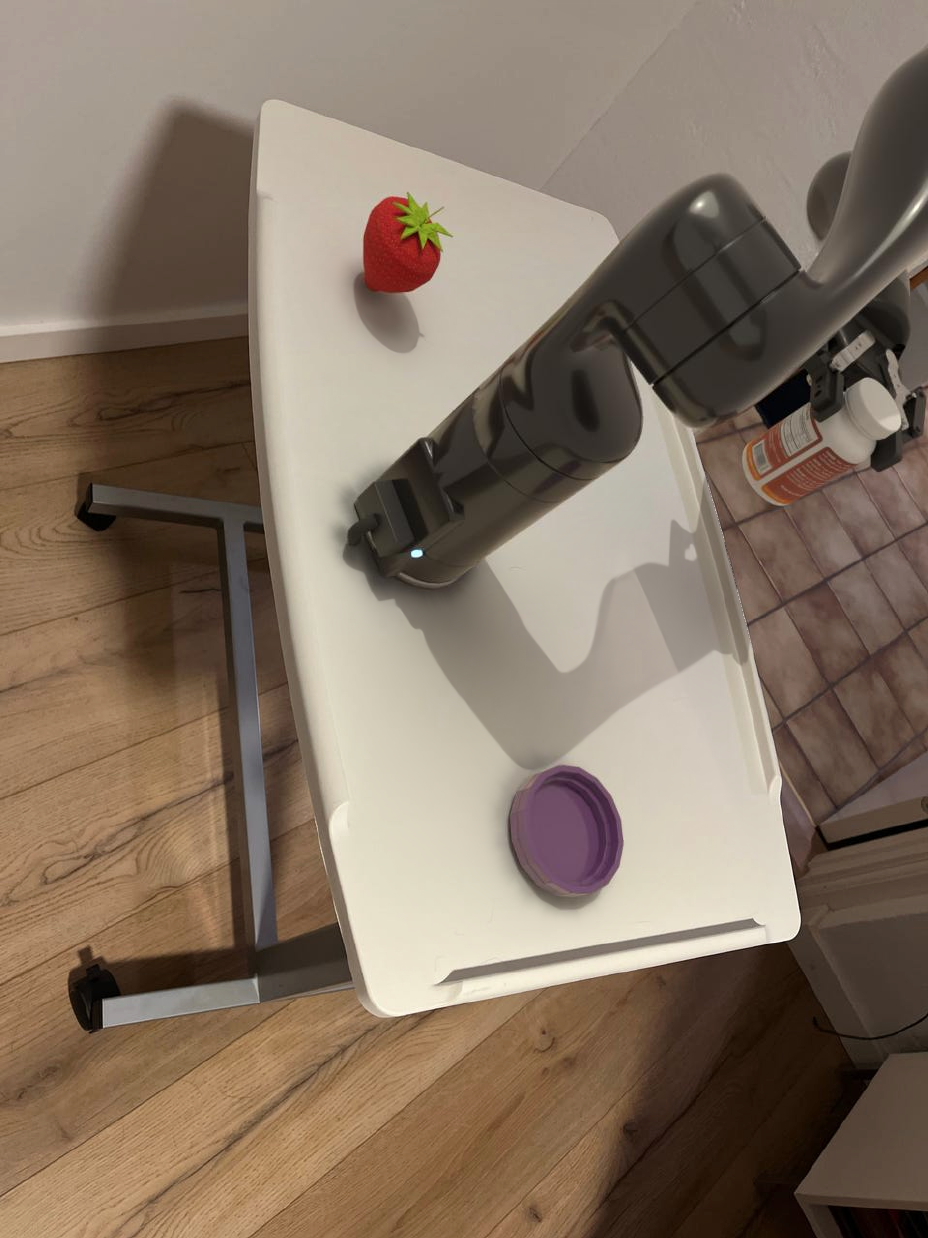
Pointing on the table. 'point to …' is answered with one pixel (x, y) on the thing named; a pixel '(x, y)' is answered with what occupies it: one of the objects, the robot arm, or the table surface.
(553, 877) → the plum lid
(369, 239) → the strawberry
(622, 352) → the robot arm
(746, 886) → the table surface
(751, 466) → the pill bottle
